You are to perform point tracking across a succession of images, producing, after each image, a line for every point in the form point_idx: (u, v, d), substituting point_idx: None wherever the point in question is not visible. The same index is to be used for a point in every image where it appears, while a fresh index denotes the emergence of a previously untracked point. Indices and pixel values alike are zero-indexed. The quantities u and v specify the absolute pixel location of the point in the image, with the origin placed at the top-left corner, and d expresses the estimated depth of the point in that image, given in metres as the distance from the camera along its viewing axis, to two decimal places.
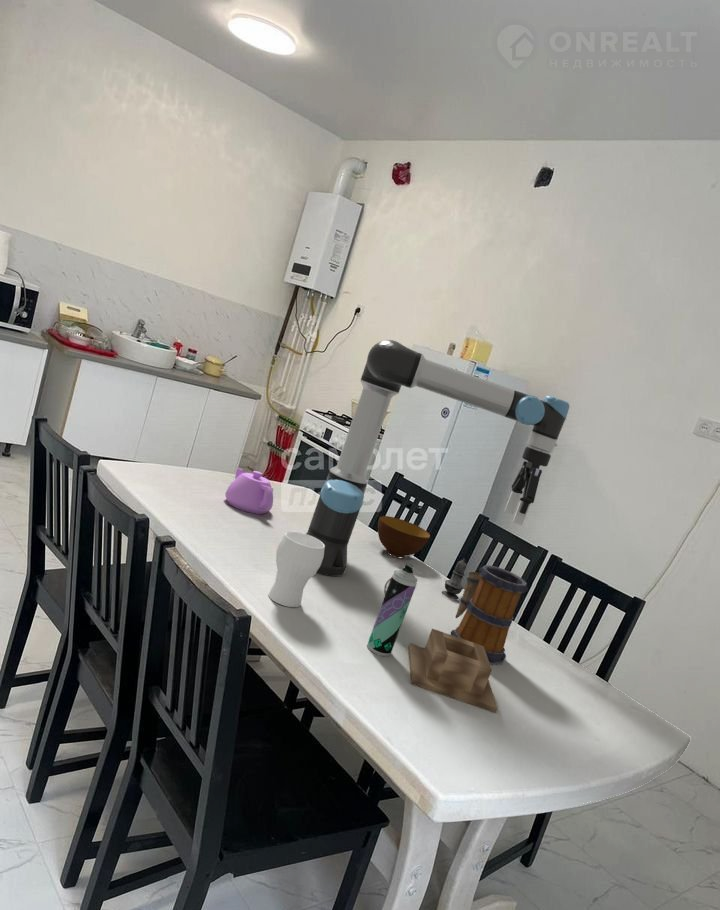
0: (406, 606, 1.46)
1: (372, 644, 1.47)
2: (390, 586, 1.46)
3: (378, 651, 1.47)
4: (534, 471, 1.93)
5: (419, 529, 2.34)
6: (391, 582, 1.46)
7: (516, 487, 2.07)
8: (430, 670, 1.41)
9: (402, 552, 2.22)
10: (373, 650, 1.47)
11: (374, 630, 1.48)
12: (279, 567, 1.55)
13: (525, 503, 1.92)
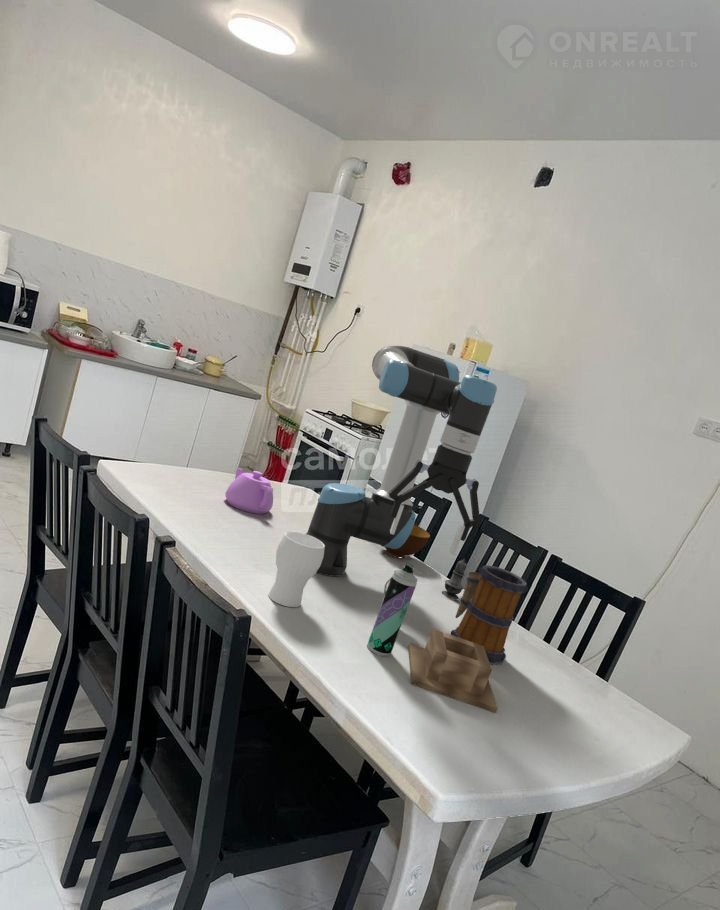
0: (406, 606, 1.46)
1: (372, 644, 1.47)
2: (390, 586, 1.46)
3: (378, 651, 1.47)
4: (415, 464, 1.46)
5: (419, 529, 2.34)
6: (391, 582, 1.46)
7: None
8: (430, 670, 1.41)
9: (402, 552, 2.22)
10: (373, 650, 1.47)
11: (374, 630, 1.48)
12: (279, 567, 1.55)
13: (394, 502, 1.46)
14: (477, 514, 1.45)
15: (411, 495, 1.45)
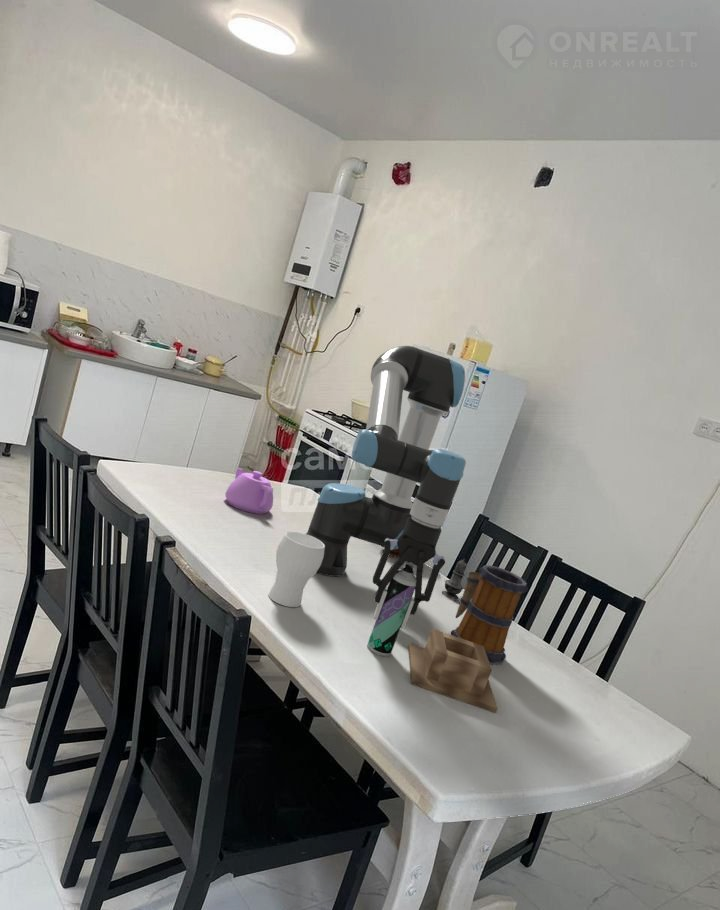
0: (406, 606, 1.46)
1: (372, 644, 1.47)
2: (390, 586, 1.46)
3: (378, 651, 1.47)
4: None
5: None
6: (391, 582, 1.46)
7: (415, 588, 1.48)
8: (430, 670, 1.41)
9: None
10: (373, 650, 1.47)
11: (374, 630, 1.48)
12: (279, 567, 1.55)
13: (378, 587, 1.48)
14: (430, 590, 1.46)
15: (391, 577, 1.46)
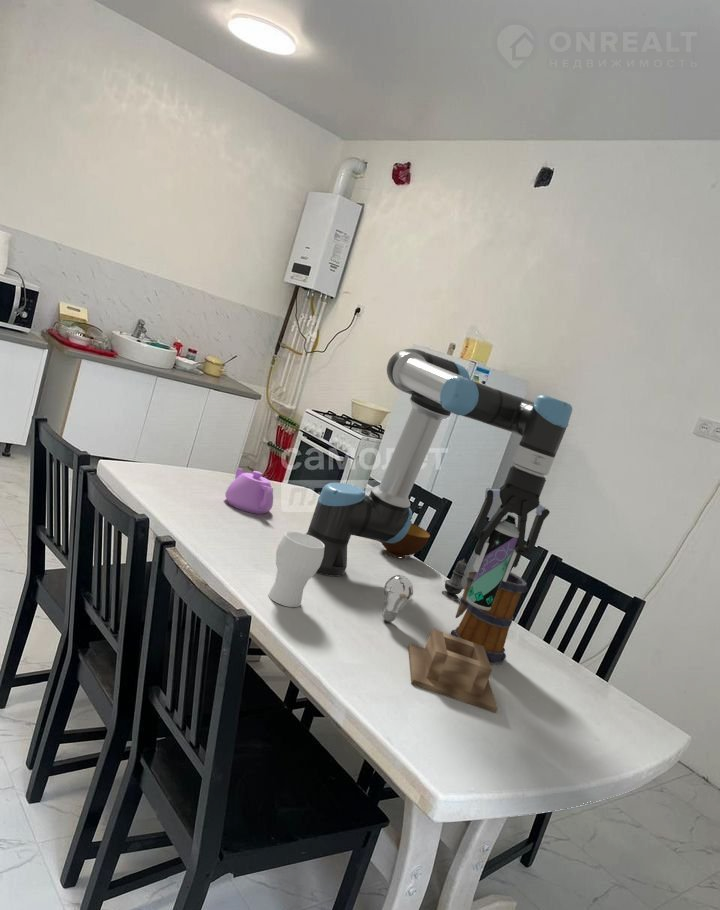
0: (509, 558, 1.42)
1: (472, 598, 1.43)
2: (492, 537, 1.42)
3: (479, 605, 1.42)
4: None
5: (419, 529, 2.34)
6: (493, 533, 1.42)
7: None
8: (430, 670, 1.41)
9: (402, 552, 2.22)
10: (474, 604, 1.43)
11: (475, 583, 1.43)
12: (279, 567, 1.55)
13: (478, 539, 1.44)
14: (534, 541, 1.42)
15: (493, 528, 1.42)
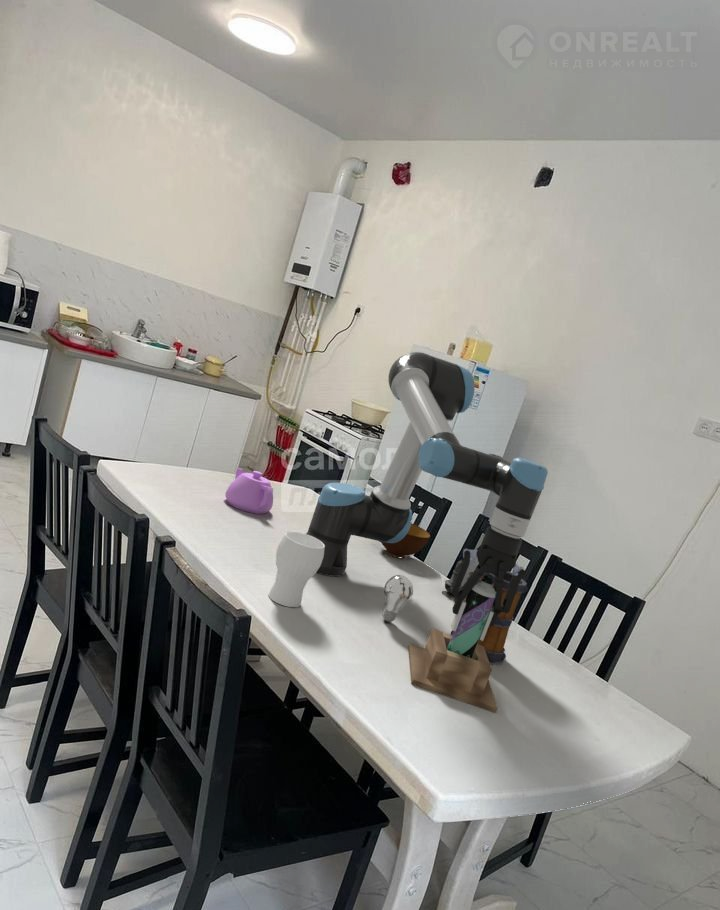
0: (486, 618, 1.44)
1: None
2: (469, 597, 1.44)
3: None
4: (463, 553, 1.45)
5: (419, 529, 2.34)
6: (470, 593, 1.44)
7: None
8: (430, 670, 1.41)
9: (402, 552, 2.22)
10: None
11: (452, 642, 1.45)
12: (279, 567, 1.55)
13: (456, 598, 1.45)
14: (510, 601, 1.44)
15: (470, 588, 1.44)
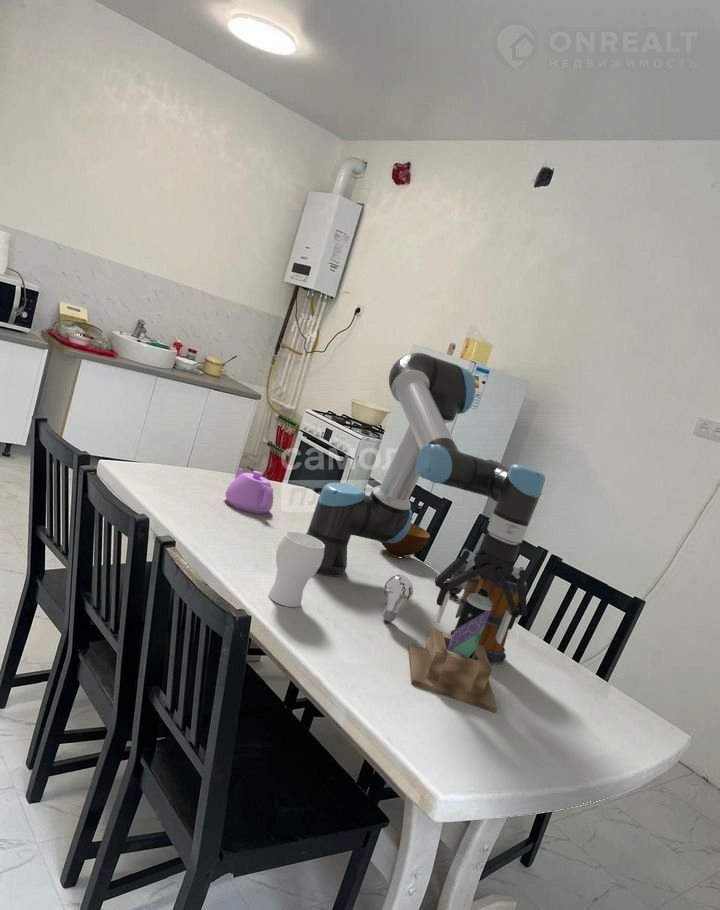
0: (481, 630, 1.44)
1: None
2: (465, 610, 1.44)
3: None
4: (462, 551, 1.45)
5: (419, 529, 2.34)
6: (466, 606, 1.44)
7: (508, 603, 1.46)
8: (430, 670, 1.41)
9: (402, 552, 2.22)
10: None
11: None
12: (279, 567, 1.55)
13: (440, 589, 1.45)
14: (524, 603, 1.44)
15: (457, 584, 1.44)
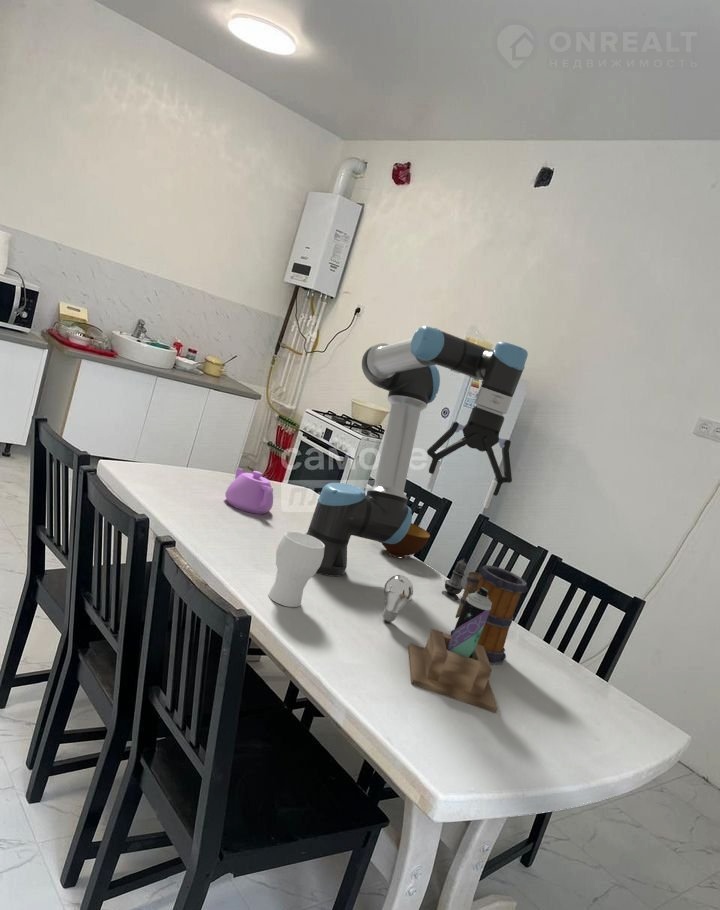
0: (481, 630, 1.44)
1: None
2: (464, 610, 1.44)
3: None
4: (452, 424, 1.58)
5: (419, 529, 2.34)
6: (465, 606, 1.44)
7: (494, 472, 1.59)
8: (430, 670, 1.41)
9: (402, 552, 2.22)
10: None
11: None
12: (279, 567, 1.55)
13: (432, 459, 1.59)
14: (509, 471, 1.57)
15: (448, 453, 1.57)
